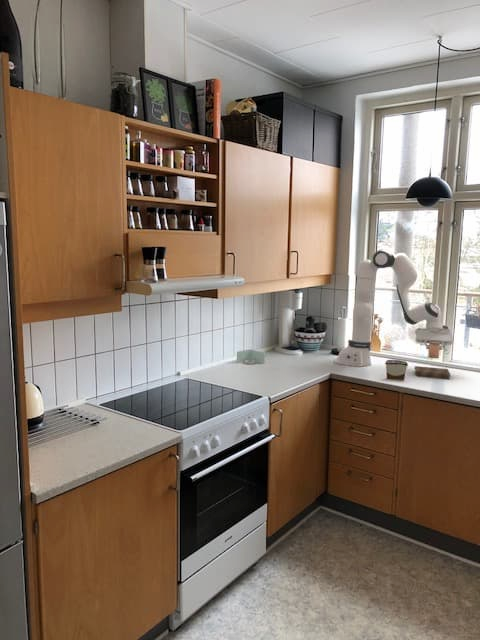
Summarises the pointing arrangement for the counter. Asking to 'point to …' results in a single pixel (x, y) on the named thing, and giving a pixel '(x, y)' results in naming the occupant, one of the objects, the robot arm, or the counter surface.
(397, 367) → the food container
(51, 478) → the counter surface
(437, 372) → the walnut stand
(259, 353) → the l-shaped corner panel
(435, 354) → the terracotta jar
